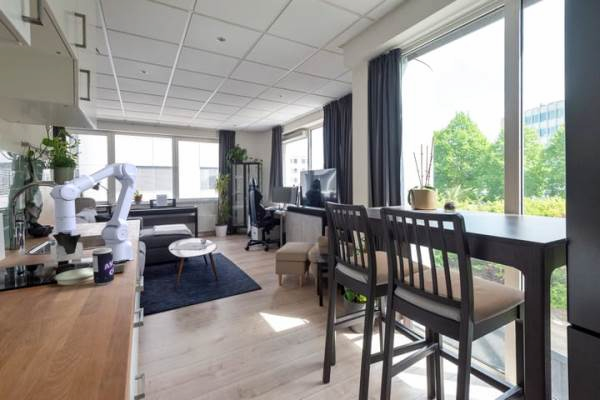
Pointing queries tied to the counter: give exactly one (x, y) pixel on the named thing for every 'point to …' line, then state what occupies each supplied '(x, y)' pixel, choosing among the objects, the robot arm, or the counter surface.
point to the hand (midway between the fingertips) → (67, 252)
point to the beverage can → (103, 265)
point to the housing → (60, 252)
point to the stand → (75, 276)
